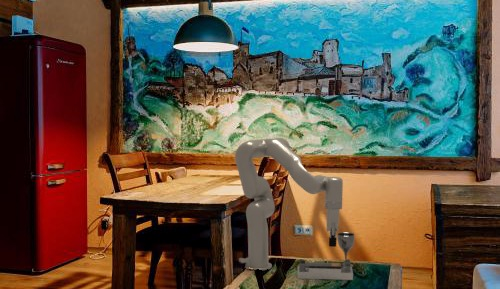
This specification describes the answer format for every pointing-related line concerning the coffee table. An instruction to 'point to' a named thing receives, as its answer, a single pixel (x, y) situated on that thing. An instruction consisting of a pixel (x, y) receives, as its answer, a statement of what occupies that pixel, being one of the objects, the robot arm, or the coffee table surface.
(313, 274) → the grey flat base
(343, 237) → the wine glass
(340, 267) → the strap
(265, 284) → the coffee table surface
